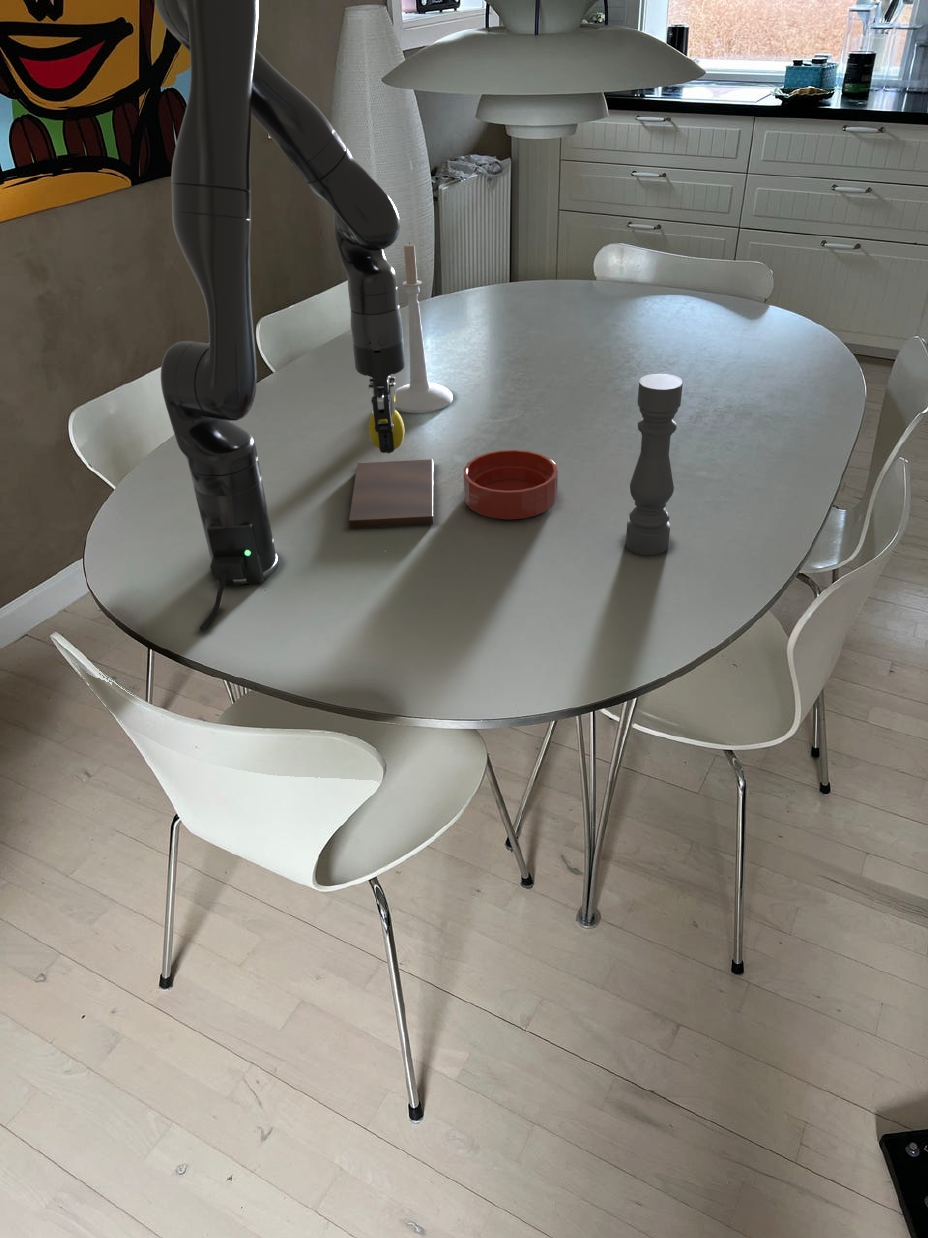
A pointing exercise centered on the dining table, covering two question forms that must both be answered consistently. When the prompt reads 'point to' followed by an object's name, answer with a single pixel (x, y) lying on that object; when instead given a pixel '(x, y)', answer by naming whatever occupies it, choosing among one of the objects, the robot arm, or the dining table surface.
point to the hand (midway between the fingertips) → (387, 442)
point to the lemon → (397, 430)
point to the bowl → (510, 484)
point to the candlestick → (418, 354)
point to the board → (392, 494)
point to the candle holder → (653, 464)
